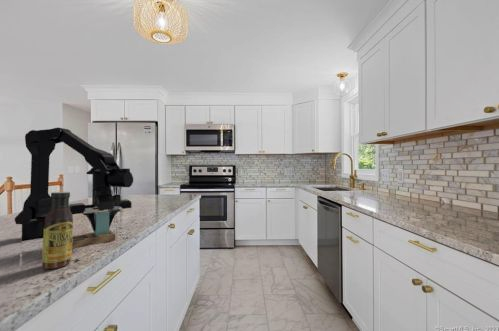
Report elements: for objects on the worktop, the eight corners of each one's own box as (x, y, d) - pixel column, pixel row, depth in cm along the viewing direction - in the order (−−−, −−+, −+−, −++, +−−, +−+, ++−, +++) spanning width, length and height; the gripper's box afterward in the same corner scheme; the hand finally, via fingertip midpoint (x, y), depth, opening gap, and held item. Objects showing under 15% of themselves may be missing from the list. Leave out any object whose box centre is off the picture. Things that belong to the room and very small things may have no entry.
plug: (96, 239, 81) (96, 213, 81) (93, 237, 84) (93, 212, 84) (109, 237, 84) (109, 212, 84) (106, 234, 86) (106, 210, 86)
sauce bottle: (46, 272, 58) (47, 194, 58) (37, 267, 62) (38, 192, 62) (77, 263, 64) (77, 191, 64) (67, 258, 67) (68, 190, 67)
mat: (84, 238, 85) (84, 237, 85) (81, 234, 90) (81, 233, 90) (106, 235, 90) (106, 234, 90) (101, 231, 95) (101, 230, 95)
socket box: (65, 250, 73) (66, 241, 73) (62, 244, 79) (63, 236, 79) (115, 241, 83) (115, 233, 83) (109, 236, 89) (109, 228, 89)
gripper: (73, 190, 71) (72, 240, 71) (136, 187, 84) (136, 229, 84) (68, 187, 79) (67, 233, 79) (127, 185, 92) (126, 224, 92)
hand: (101, 230), depth 84 cm, fingers closed on plug, 4 cm apart
